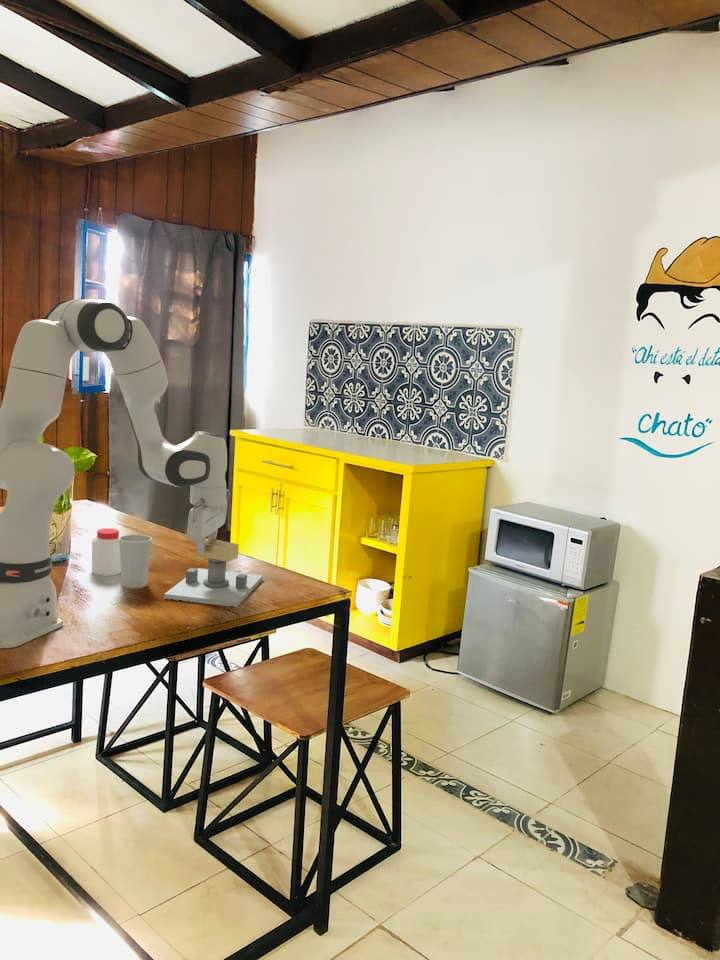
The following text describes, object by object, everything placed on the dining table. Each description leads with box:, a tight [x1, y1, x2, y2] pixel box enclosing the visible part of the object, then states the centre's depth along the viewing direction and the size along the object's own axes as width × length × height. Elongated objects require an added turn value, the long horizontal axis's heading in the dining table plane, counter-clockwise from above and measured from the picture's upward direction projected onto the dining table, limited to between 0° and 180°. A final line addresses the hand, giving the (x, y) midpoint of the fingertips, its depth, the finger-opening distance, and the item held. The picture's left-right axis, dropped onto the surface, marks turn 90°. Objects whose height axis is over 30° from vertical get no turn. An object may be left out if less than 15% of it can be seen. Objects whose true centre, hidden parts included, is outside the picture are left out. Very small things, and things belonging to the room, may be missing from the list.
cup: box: [119, 533, 153, 589], centre depth 197 cm, size 8×8×12 cm
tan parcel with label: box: [196, 537, 239, 563], centre depth 198 cm, size 9×5×5 cm, turn 66°
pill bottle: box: [91, 528, 121, 577], centre depth 207 cm, size 8×8×11 cm
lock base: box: [163, 560, 264, 608], centre depth 199 cm, size 24×18×7 cm
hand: (206, 549), depth 199 cm, fingers open, 6 cm apart
